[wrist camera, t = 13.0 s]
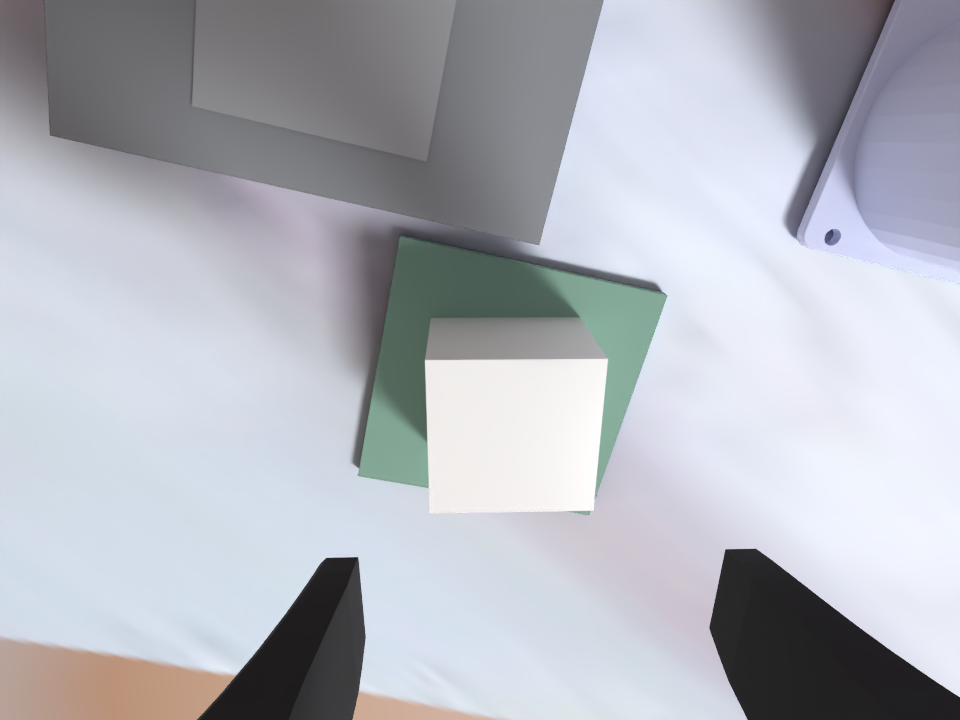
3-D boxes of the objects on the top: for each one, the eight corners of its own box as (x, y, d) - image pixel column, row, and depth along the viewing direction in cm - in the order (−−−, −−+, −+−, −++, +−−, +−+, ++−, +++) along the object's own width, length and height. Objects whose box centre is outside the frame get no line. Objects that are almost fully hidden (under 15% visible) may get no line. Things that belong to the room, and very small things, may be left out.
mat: (663, 292, 19) (667, 295, 19) (586, 508, 22) (588, 515, 22) (400, 234, 18) (399, 236, 18) (359, 469, 21) (358, 475, 21)
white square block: (580, 317, 19) (608, 358, 16) (570, 447, 21) (593, 510, 17) (431, 317, 19) (424, 360, 15) (434, 448, 21) (429, 513, 17)
